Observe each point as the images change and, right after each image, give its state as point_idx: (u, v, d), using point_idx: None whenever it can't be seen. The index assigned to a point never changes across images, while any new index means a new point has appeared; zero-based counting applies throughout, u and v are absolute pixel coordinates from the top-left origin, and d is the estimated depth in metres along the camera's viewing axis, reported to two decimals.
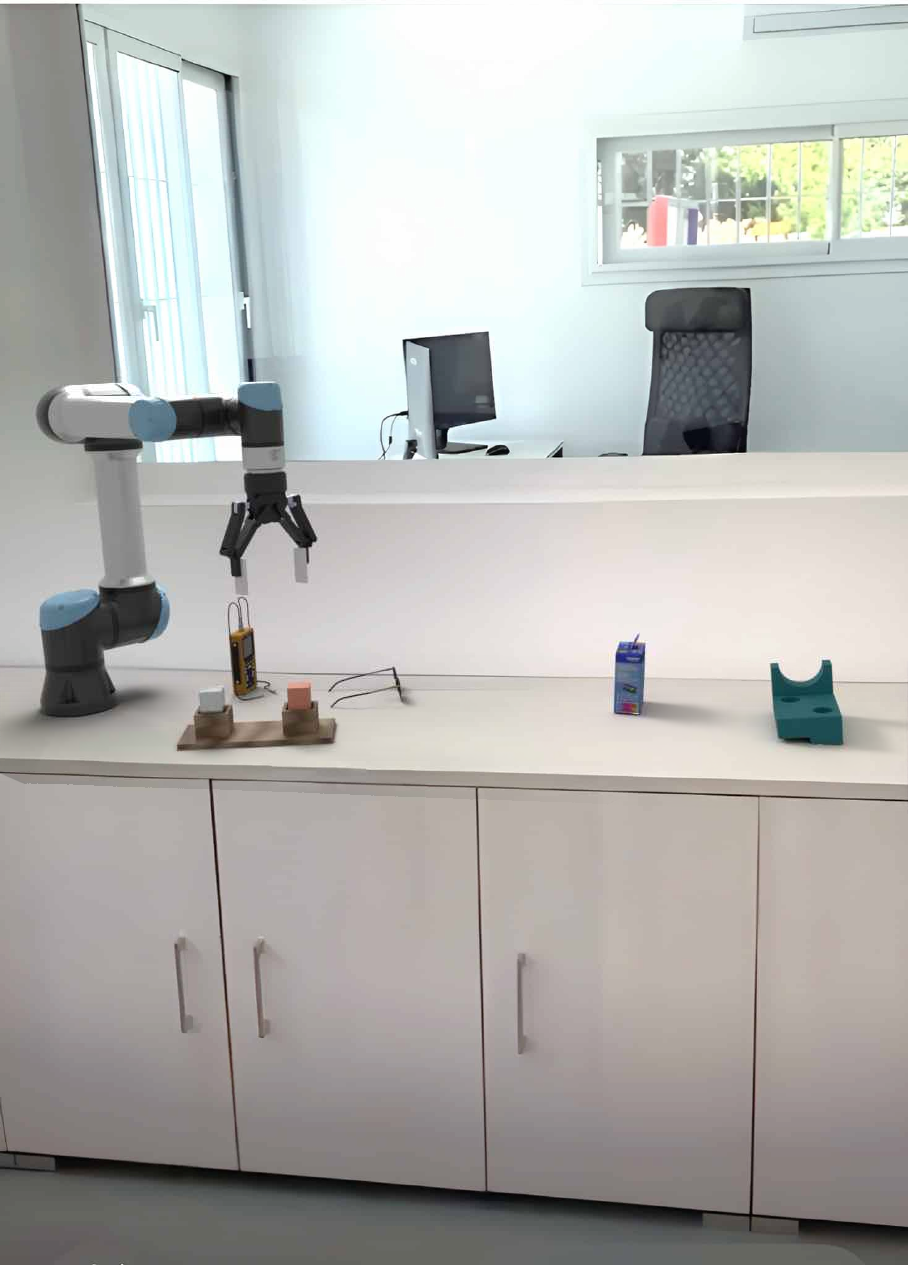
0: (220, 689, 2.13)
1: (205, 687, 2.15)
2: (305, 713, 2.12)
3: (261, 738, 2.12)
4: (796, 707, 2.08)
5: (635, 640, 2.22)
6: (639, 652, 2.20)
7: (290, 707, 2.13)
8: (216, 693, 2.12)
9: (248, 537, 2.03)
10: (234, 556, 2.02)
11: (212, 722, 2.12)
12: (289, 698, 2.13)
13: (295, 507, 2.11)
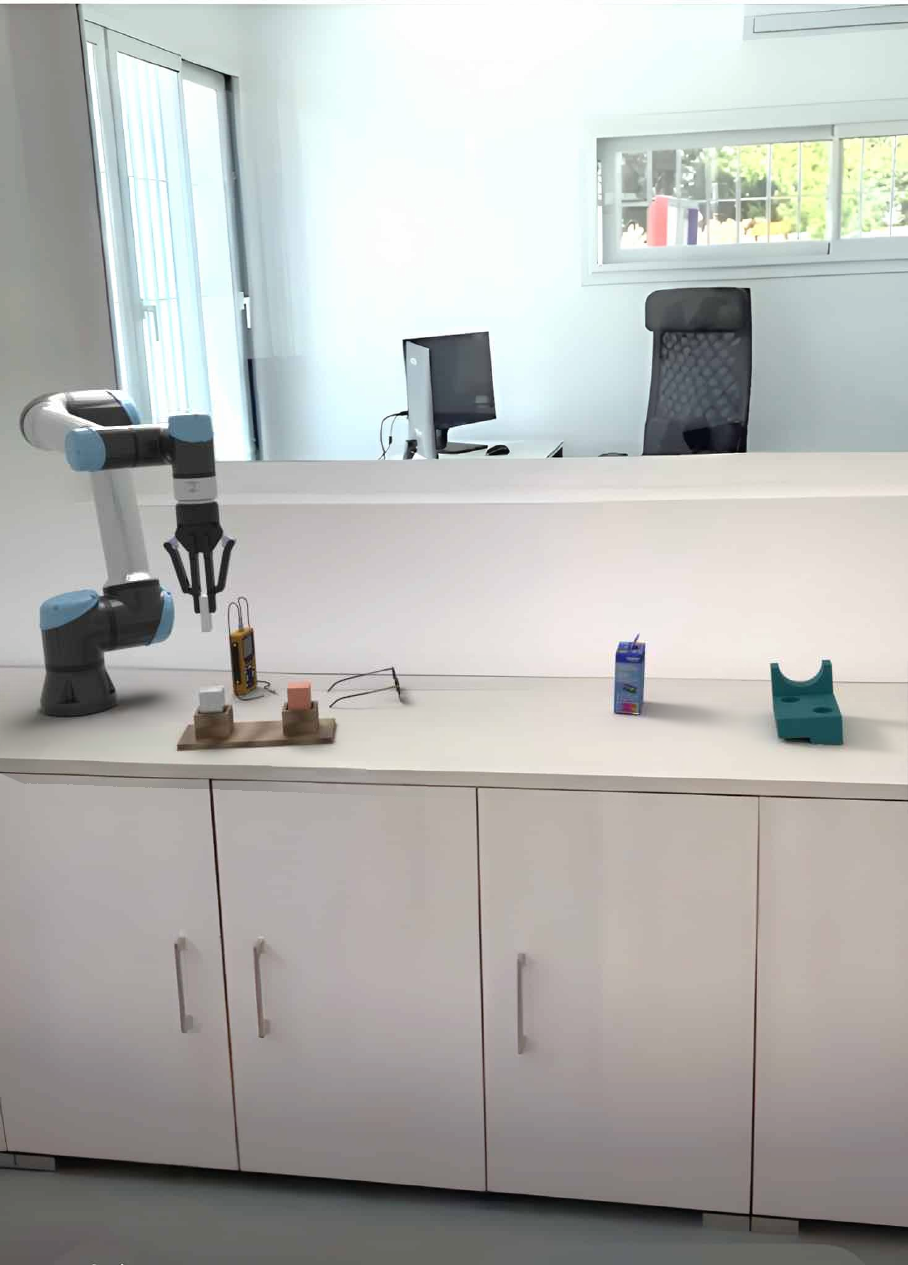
0: (220, 689, 2.13)
1: (205, 687, 2.15)
2: (305, 713, 2.12)
3: (261, 738, 2.12)
4: (796, 707, 2.08)
5: (635, 640, 2.22)
6: (639, 652, 2.20)
7: (290, 707, 2.13)
8: (216, 693, 2.12)
9: (193, 573, 2.07)
10: (193, 595, 2.09)
11: (212, 722, 2.12)
12: (289, 698, 2.13)
13: (224, 548, 2.07)
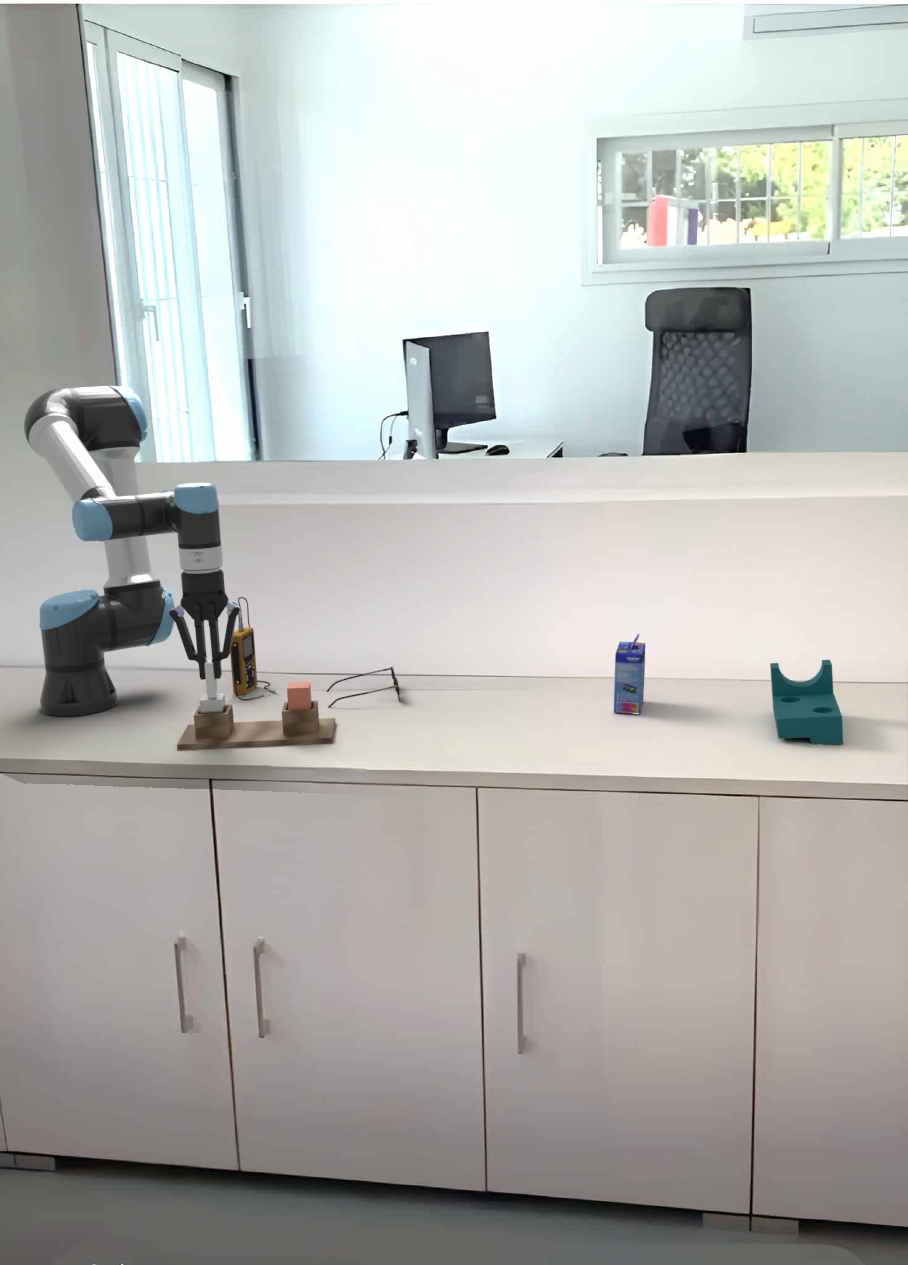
0: (221, 697, 2.13)
1: (206, 695, 2.15)
2: (305, 713, 2.12)
3: (261, 738, 2.12)
4: (796, 707, 2.08)
5: (635, 640, 2.22)
6: (639, 652, 2.20)
7: (290, 707, 2.13)
8: (217, 702, 2.12)
9: (198, 640, 2.10)
10: (199, 662, 2.11)
11: (212, 722, 2.12)
12: (289, 698, 2.13)
13: (229, 616, 2.10)
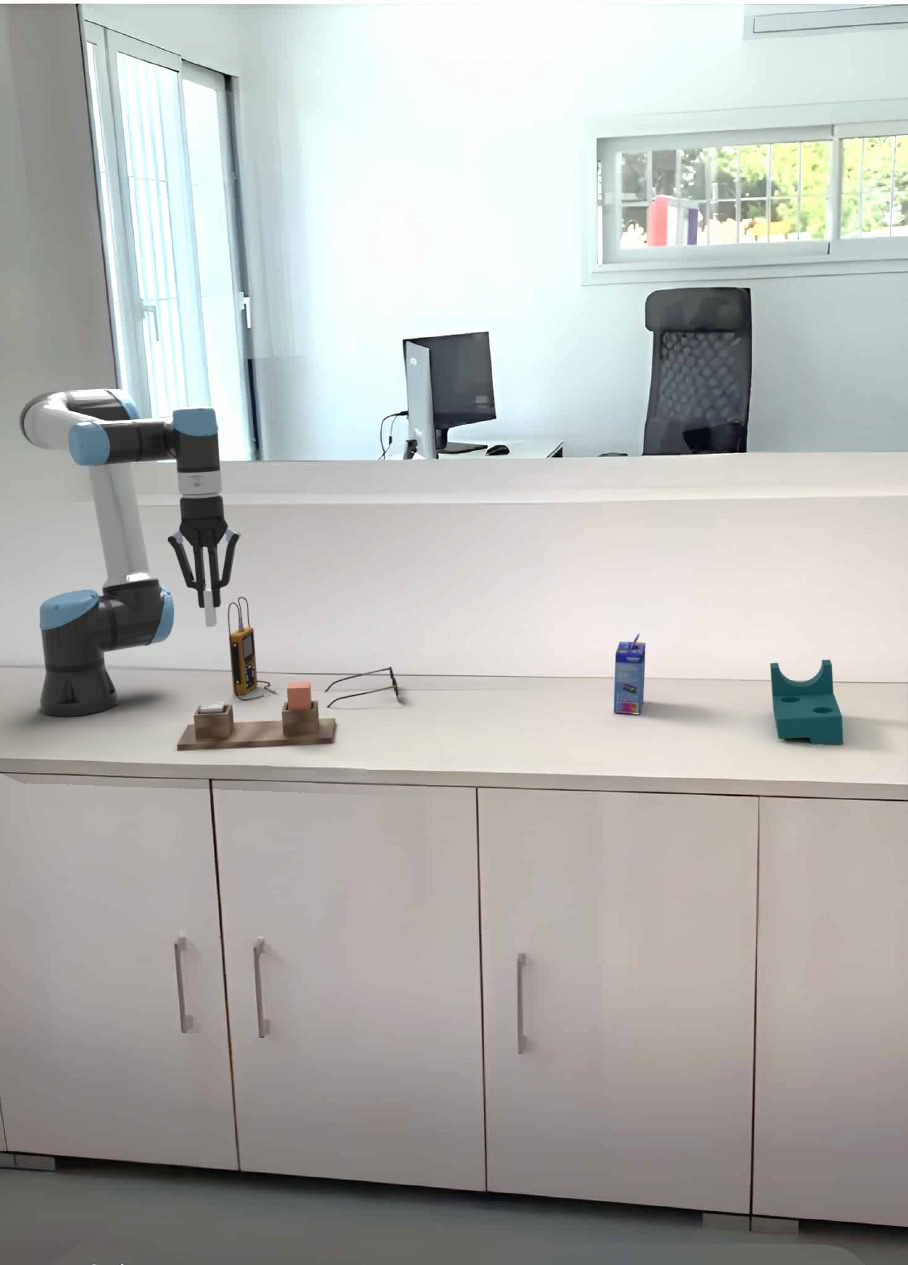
0: (221, 706, 2.14)
1: (206, 703, 2.15)
2: (305, 713, 2.12)
3: (261, 738, 2.12)
4: (796, 707, 2.08)
5: (635, 640, 2.22)
6: (639, 652, 2.20)
7: (290, 707, 2.13)
8: (217, 710, 2.13)
9: (197, 567, 2.07)
10: (198, 590, 2.08)
11: (212, 722, 2.12)
12: (289, 698, 2.13)
13: (228, 543, 2.07)
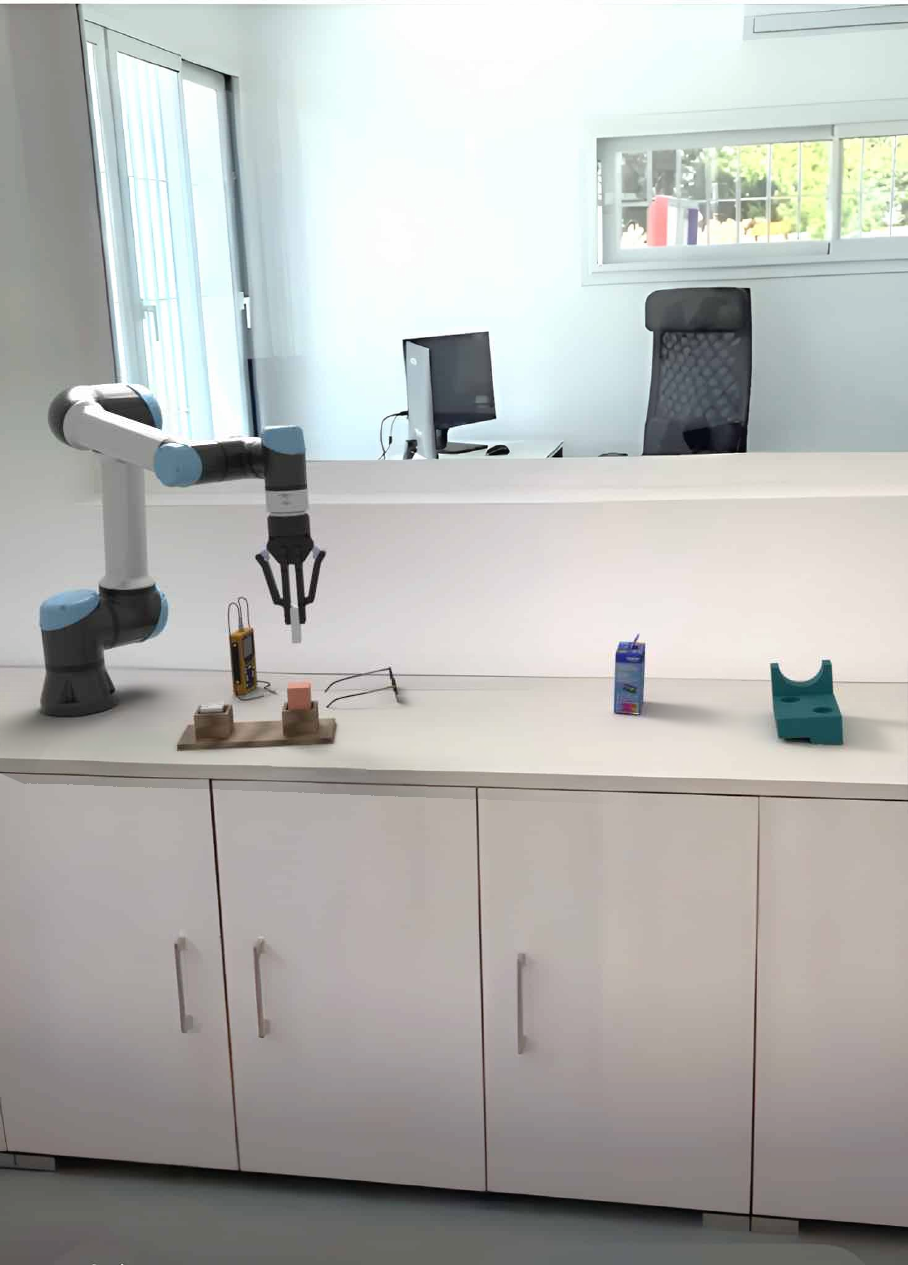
0: (221, 706, 2.14)
1: (206, 703, 2.15)
2: (305, 713, 2.12)
3: (261, 738, 2.12)
4: (796, 707, 2.08)
5: (635, 640, 2.22)
6: (639, 652, 2.20)
7: (290, 707, 2.13)
8: (217, 710, 2.13)
9: (284, 584, 2.09)
10: (284, 607, 2.10)
11: (212, 722, 2.12)
12: (289, 698, 2.13)
13: (315, 560, 2.08)
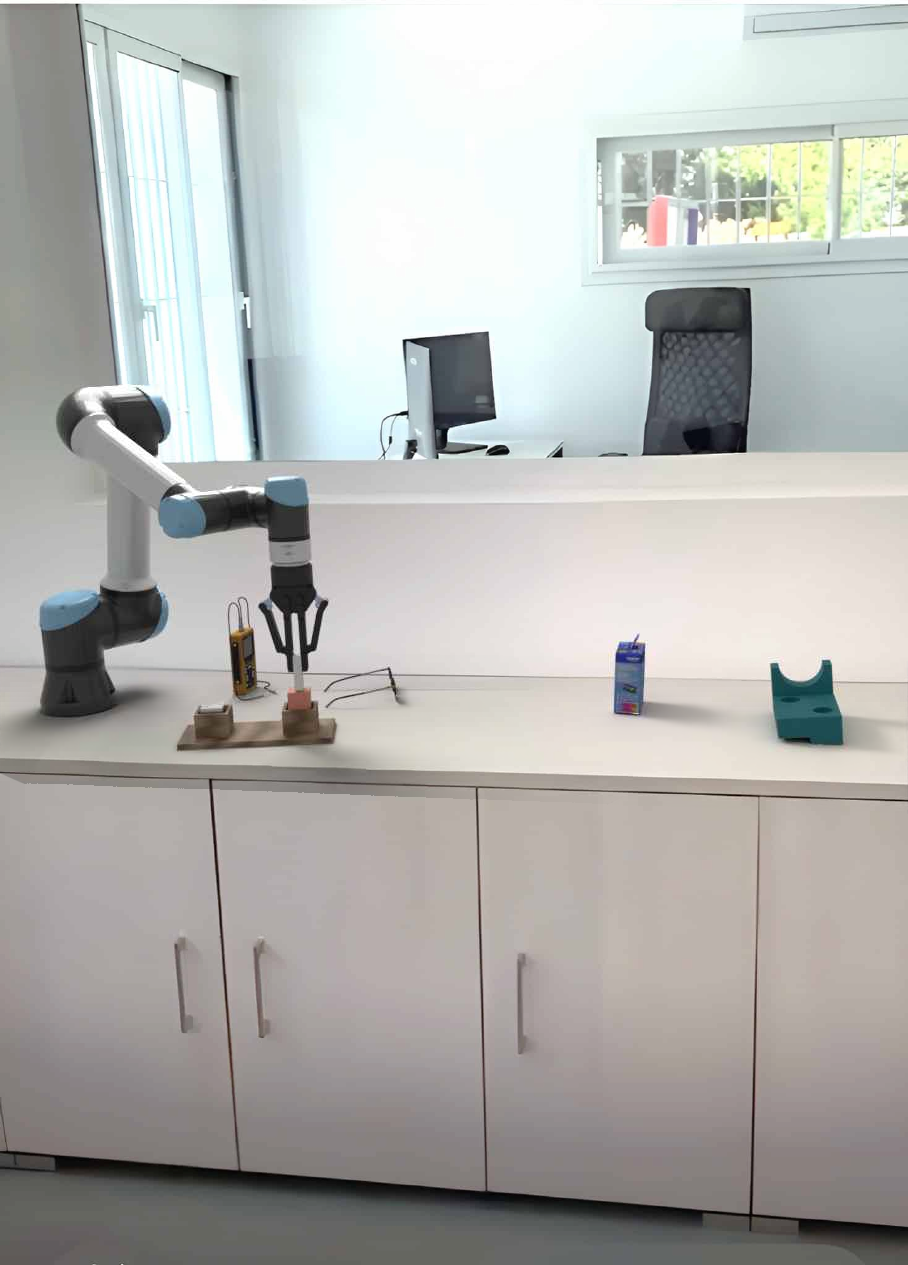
0: (221, 706, 2.14)
1: (206, 703, 2.15)
2: (305, 713, 2.12)
3: (261, 738, 2.12)
4: (796, 707, 2.08)
5: (635, 640, 2.22)
6: (639, 652, 2.20)
7: None
8: (217, 710, 2.13)
9: (287, 633, 2.11)
10: (287, 655, 2.12)
11: (212, 722, 2.12)
12: (289, 703, 2.13)
13: (317, 609, 2.11)
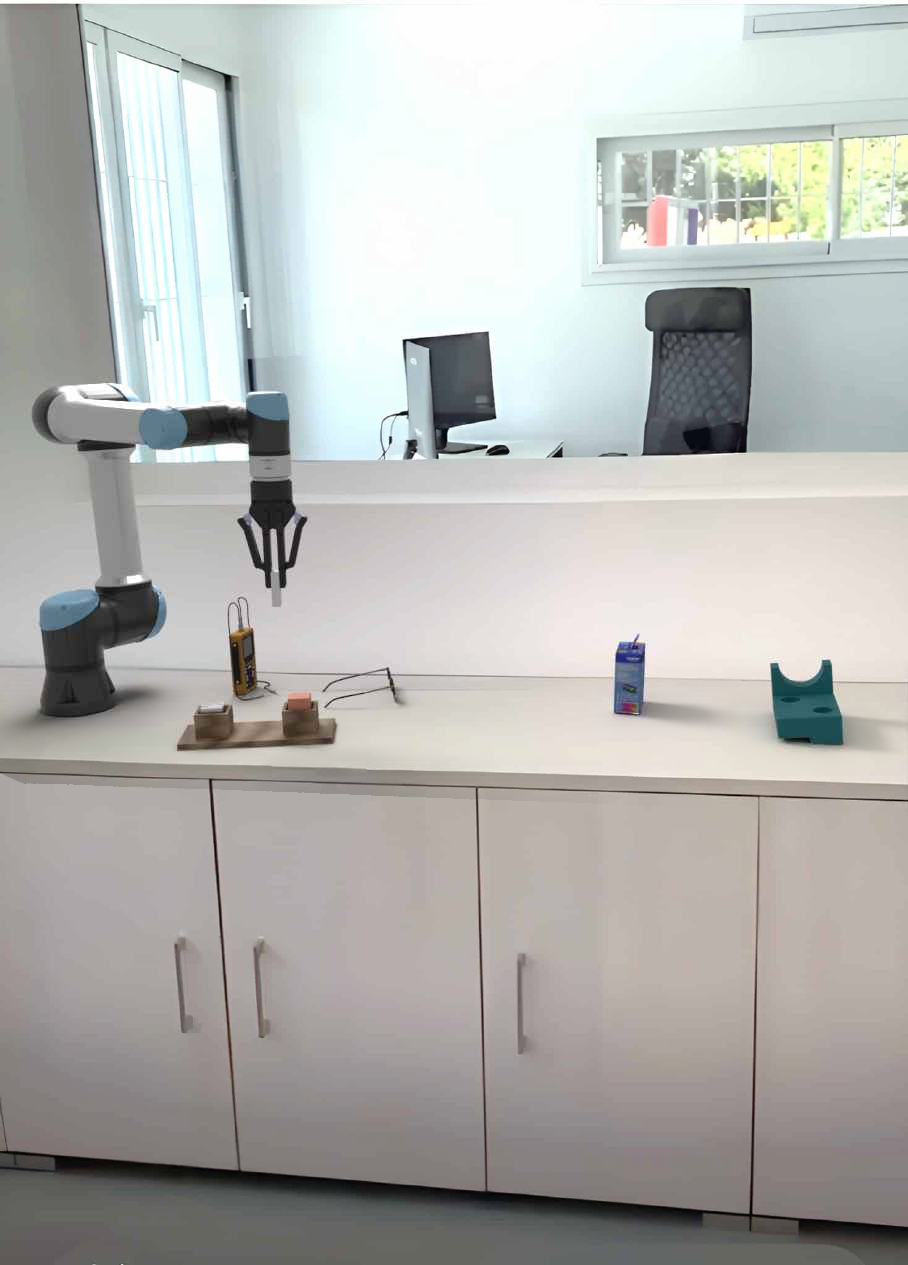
0: (221, 706, 2.14)
1: (206, 703, 2.15)
2: (305, 713, 2.12)
3: (261, 738, 2.12)
4: (796, 707, 2.08)
5: (635, 640, 2.22)
6: (639, 652, 2.20)
7: None
8: (217, 710, 2.13)
9: (265, 548, 2.12)
10: (265, 571, 2.14)
11: (212, 722, 2.12)
12: (290, 709, 2.13)
13: (296, 525, 2.12)
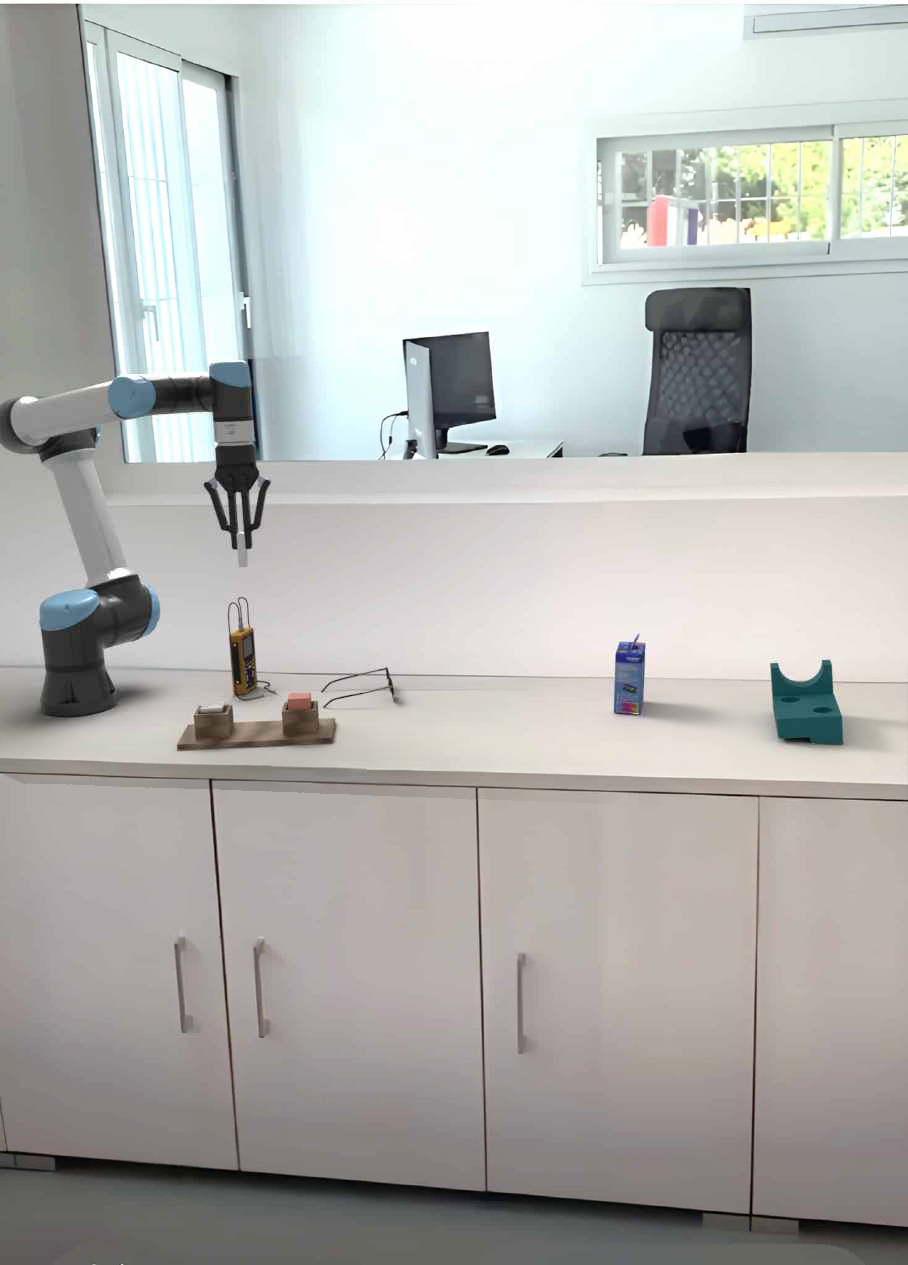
0: (221, 706, 2.14)
1: (206, 703, 2.15)
2: (305, 713, 2.12)
3: (261, 738, 2.12)
4: (796, 707, 2.08)
5: (635, 640, 2.22)
6: (639, 652, 2.20)
7: None
8: (217, 710, 2.13)
9: (231, 511, 2.22)
10: (231, 532, 2.24)
11: (212, 722, 2.12)
12: (290, 709, 2.13)
13: (260, 488, 2.22)
